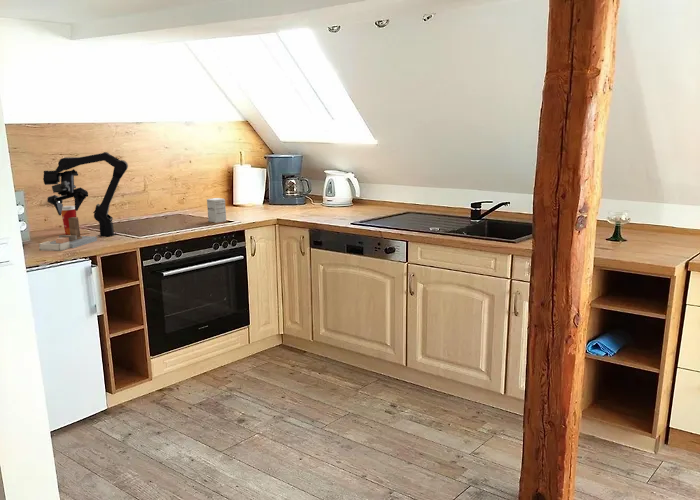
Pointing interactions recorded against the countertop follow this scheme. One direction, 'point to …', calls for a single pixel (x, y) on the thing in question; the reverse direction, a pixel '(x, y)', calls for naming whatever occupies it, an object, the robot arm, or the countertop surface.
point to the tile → (62, 240)
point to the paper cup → (67, 213)
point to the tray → (53, 246)
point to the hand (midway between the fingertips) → (68, 212)
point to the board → (79, 241)
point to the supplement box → (216, 210)
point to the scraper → (73, 229)
